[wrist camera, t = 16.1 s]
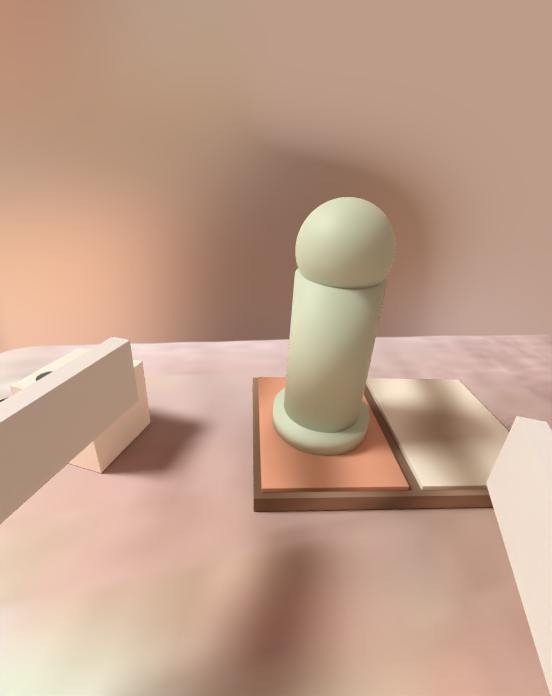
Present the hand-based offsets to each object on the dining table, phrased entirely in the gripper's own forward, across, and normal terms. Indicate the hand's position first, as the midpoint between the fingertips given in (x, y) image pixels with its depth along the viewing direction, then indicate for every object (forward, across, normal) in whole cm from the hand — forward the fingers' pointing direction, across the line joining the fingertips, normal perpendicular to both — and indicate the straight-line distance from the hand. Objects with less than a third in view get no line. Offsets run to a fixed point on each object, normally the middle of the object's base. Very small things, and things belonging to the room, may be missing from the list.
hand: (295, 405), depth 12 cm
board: (+11, +4, -9) cm, 15 cm away
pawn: (+10, 0, -8) cm, 12 cm away
